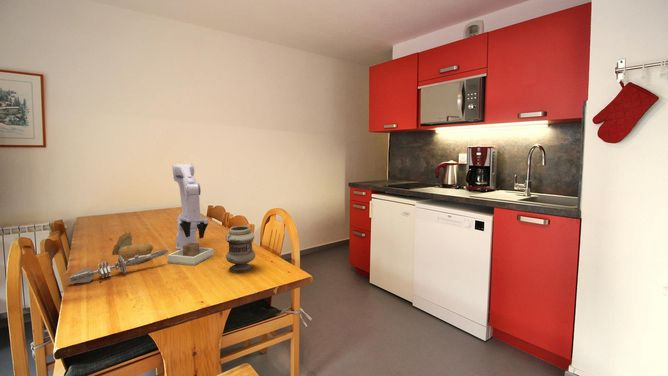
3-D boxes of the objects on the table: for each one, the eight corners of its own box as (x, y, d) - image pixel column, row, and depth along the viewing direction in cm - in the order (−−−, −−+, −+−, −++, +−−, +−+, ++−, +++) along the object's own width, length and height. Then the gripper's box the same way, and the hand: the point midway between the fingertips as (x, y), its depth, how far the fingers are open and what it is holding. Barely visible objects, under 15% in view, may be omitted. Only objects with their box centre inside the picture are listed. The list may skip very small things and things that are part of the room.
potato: (157, 259, 150) (156, 242, 149) (123, 268, 140) (121, 249, 139) (148, 255, 157) (147, 239, 156) (115, 263, 146) (113, 245, 145)
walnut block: (183, 258, 149) (182, 245, 149) (190, 255, 154) (189, 242, 154) (192, 259, 148) (191, 246, 148) (199, 256, 153) (198, 243, 152)
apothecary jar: (225, 275, 132) (224, 231, 130) (227, 265, 143) (225, 225, 141) (256, 272, 135) (255, 230, 133) (255, 262, 146) (254, 223, 144)
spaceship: (170, 248, 141) (164, 238, 145) (68, 278, 117) (64, 265, 122) (171, 262, 144) (165, 252, 149) (72, 294, 121) (68, 281, 125)
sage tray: (167, 262, 146) (167, 255, 146) (188, 253, 160) (188, 246, 159) (194, 265, 143) (193, 257, 142) (213, 255, 156) (213, 248, 156)
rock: (113, 252, 154) (135, 245, 161) (107, 237, 156) (130, 231, 163) (112, 260, 162) (134, 253, 168) (107, 245, 164) (129, 239, 170)
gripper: (174, 209, 150) (175, 238, 152) (200, 211, 146) (202, 240, 148) (184, 207, 157) (186, 234, 159) (210, 208, 153) (211, 236, 155)
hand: (194, 237), depth 154 cm, fingers open, 7 cm apart
